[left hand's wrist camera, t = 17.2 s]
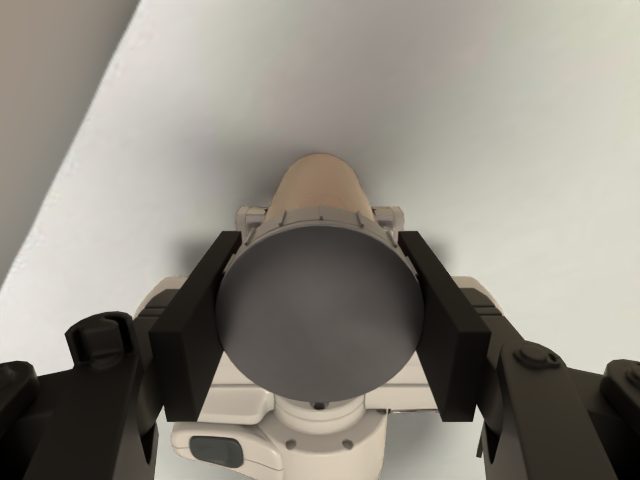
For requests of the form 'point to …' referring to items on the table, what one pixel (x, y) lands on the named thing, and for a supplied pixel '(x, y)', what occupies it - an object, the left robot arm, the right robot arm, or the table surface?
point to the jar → (319, 187)
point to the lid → (319, 305)
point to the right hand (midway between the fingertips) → (318, 209)
